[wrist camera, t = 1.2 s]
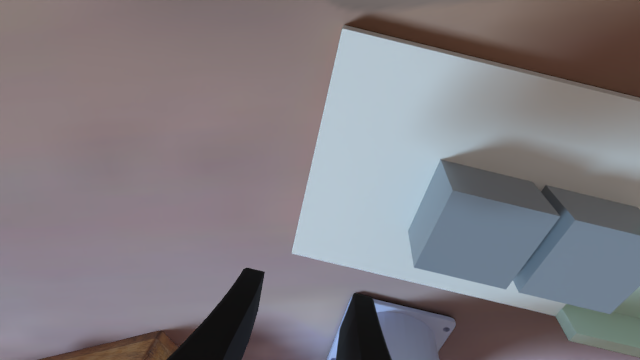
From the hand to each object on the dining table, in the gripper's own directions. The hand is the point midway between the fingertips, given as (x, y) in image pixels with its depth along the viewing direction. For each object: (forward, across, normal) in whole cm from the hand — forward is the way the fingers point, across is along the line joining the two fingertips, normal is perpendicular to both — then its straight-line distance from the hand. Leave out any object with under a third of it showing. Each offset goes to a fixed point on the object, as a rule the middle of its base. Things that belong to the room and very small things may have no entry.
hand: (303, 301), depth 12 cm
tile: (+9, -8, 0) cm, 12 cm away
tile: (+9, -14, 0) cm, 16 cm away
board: (+10, -8, 0) cm, 13 cm away
